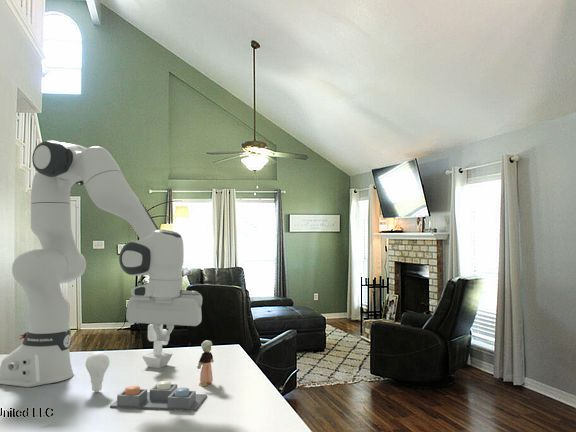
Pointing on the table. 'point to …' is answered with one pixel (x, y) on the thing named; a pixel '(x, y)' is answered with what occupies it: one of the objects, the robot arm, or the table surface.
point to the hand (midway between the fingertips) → (163, 340)
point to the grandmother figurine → (206, 364)
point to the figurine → (157, 350)
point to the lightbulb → (97, 369)
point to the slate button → (182, 392)
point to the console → (159, 400)
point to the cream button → (164, 385)
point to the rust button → (132, 390)
